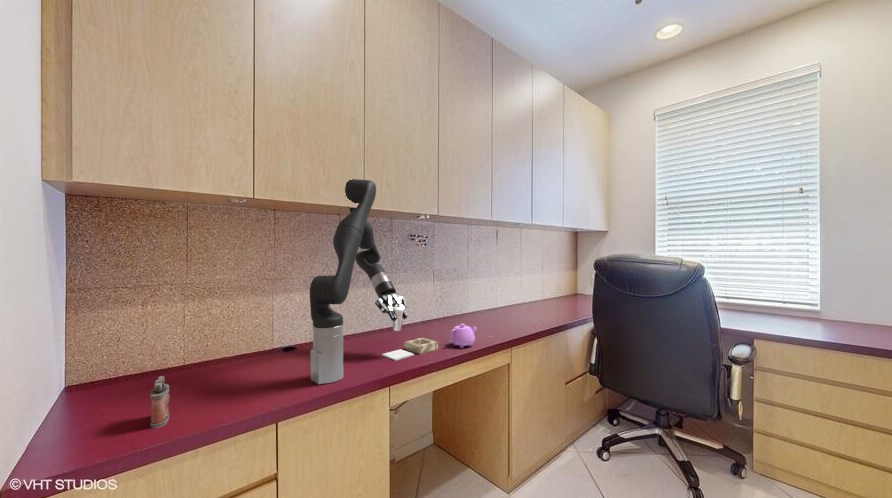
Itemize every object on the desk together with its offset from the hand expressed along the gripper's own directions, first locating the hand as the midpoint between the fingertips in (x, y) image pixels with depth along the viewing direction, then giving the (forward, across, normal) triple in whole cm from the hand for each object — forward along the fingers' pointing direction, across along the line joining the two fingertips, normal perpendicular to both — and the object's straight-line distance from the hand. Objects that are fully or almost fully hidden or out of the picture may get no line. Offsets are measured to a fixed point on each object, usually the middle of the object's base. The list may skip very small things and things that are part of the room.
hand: (400, 318), depth 129 cm
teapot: (+16, +29, +6) cm, 33 cm away
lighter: (+9, -71, +12) cm, 73 cm away
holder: (+9, +12, +12) cm, 19 cm away
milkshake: (+2, 0, +5) cm, 5 cm away
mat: (+9, 0, +12) cm, 15 cm away
